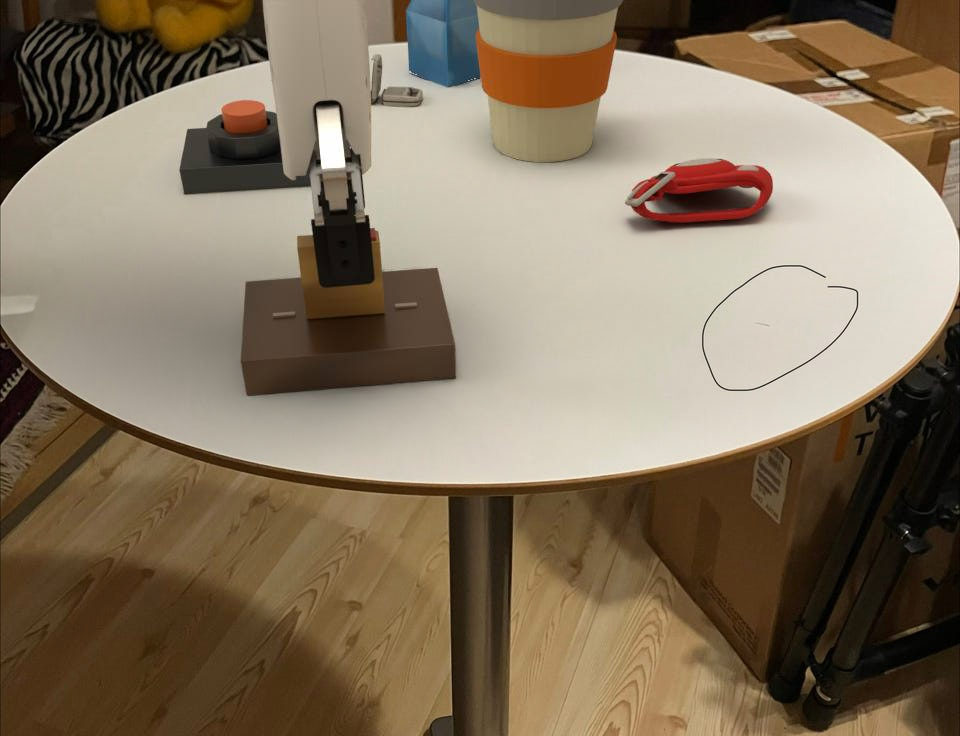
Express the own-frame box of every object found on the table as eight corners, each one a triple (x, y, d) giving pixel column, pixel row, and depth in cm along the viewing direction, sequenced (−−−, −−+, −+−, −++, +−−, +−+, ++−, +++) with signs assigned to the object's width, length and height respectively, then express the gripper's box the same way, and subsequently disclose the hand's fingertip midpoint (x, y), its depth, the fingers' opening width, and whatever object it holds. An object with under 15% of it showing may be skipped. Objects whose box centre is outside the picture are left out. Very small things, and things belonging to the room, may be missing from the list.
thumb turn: (306, 319, 66) (296, 243, 63) (306, 307, 67) (296, 231, 64) (385, 313, 67) (379, 238, 63) (383, 301, 68) (377, 226, 64)
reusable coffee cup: (552, 107, 101) (558, -64, 92) (640, 147, 94) (658, -35, 84) (446, 137, 96) (441, -42, 86) (531, 182, 88) (536, -9, 78)
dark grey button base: (184, 194, 87) (174, 147, 84) (191, 153, 93) (183, 108, 91) (317, 186, 88) (312, 139, 85) (315, 145, 94) (310, 101, 92)
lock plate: (246, 395, 64) (240, 359, 62) (250, 313, 72) (245, 279, 70) (456, 378, 65) (455, 341, 64) (438, 299, 73) (437, 265, 71)
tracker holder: (661, 157, 89) (780, 147, 84) (664, 210, 91) (781, 203, 86) (613, 177, 79) (745, 166, 75) (618, 236, 81) (747, 229, 76)
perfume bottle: (447, 87, 106) (444, -42, 98) (409, 73, 109) (403, -54, 102) (492, 73, 109) (492, -53, 101) (453, 60, 113) (450, -64, 105)
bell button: (223, 137, 87) (220, 116, 85) (225, 121, 89) (222, 101, 88) (267, 134, 87) (264, 114, 86) (268, 119, 90) (265, 98, 89)
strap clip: (424, 97, 104) (422, 52, 101) (419, 108, 102) (417, 62, 99) (340, 94, 105) (336, 50, 102) (333, 105, 102) (329, 60, 100)
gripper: (240, -96, 59) (282, 192, 70) (226, -16, 46) (281, 322, 57) (372, -102, 60) (393, 183, 71) (396, -26, 47) (418, 310, 58)
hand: (343, 245), depth 64 cm, fingers open, 9 cm apart
